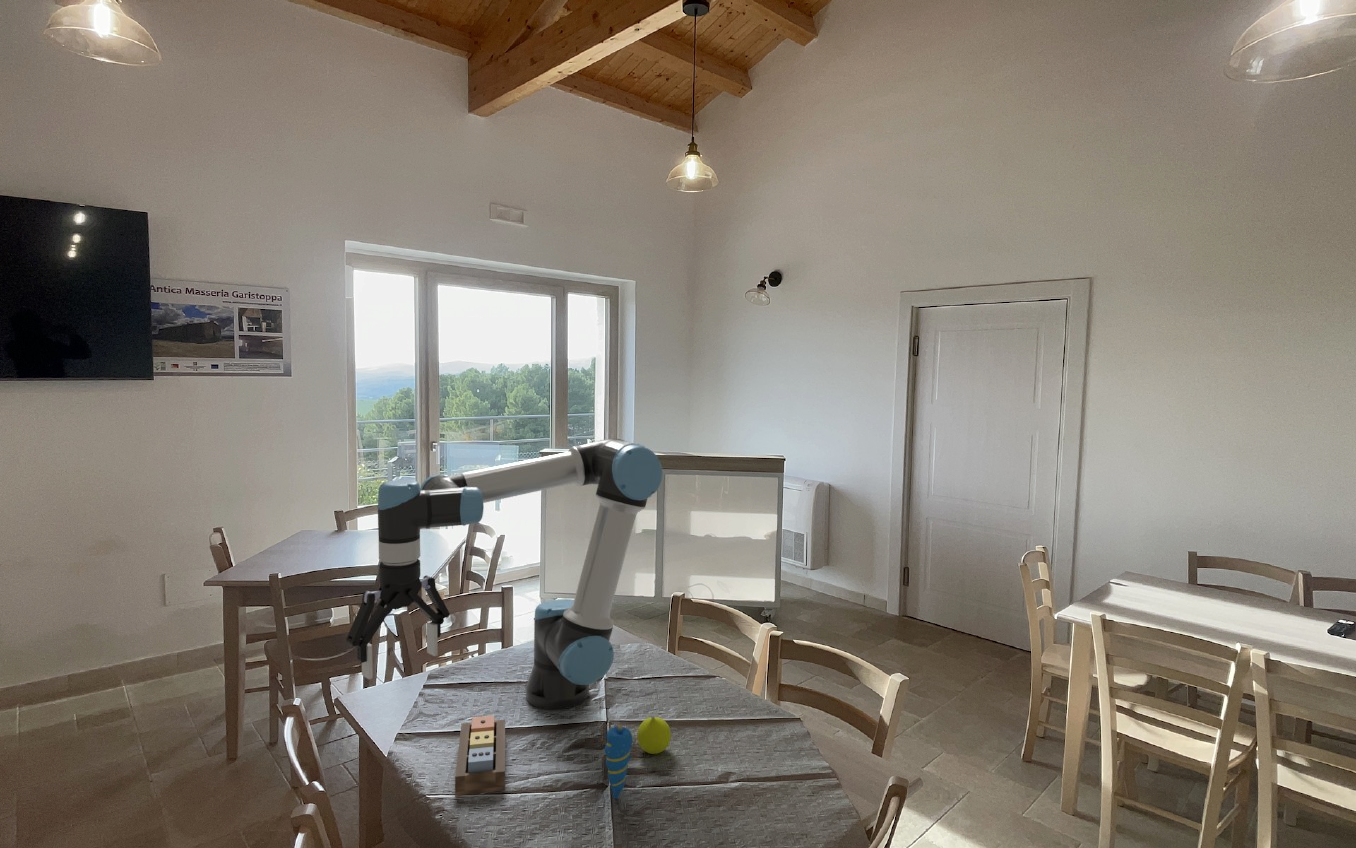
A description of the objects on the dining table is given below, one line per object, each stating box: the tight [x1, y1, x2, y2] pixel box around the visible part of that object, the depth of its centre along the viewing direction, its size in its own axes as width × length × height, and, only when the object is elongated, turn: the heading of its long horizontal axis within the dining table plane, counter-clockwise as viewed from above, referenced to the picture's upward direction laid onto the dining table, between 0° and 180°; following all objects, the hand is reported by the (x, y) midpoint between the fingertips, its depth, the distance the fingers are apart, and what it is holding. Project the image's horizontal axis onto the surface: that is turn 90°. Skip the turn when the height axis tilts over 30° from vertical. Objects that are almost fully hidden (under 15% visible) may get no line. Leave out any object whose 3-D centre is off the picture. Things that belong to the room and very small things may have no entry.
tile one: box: [471, 715, 495, 733], centre depth 144 cm, size 4×4×3 cm
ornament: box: [604, 723, 634, 800], centre depth 128 cm, size 5×5×15 cm
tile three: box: [468, 747, 493, 773], centre depth 132 cm, size 4×4×3 cm
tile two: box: [470, 730, 494, 751], centre depth 138 cm, size 4×4×3 cm
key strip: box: [454, 719, 506, 797], centre depth 138 cm, size 9×19×4 cm, turn 14°
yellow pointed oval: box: [636, 714, 672, 755], centre depth 145 cm, size 7×7×10 cm
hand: (401, 665), depth 136 cm, fingers open, 13 cm apart
